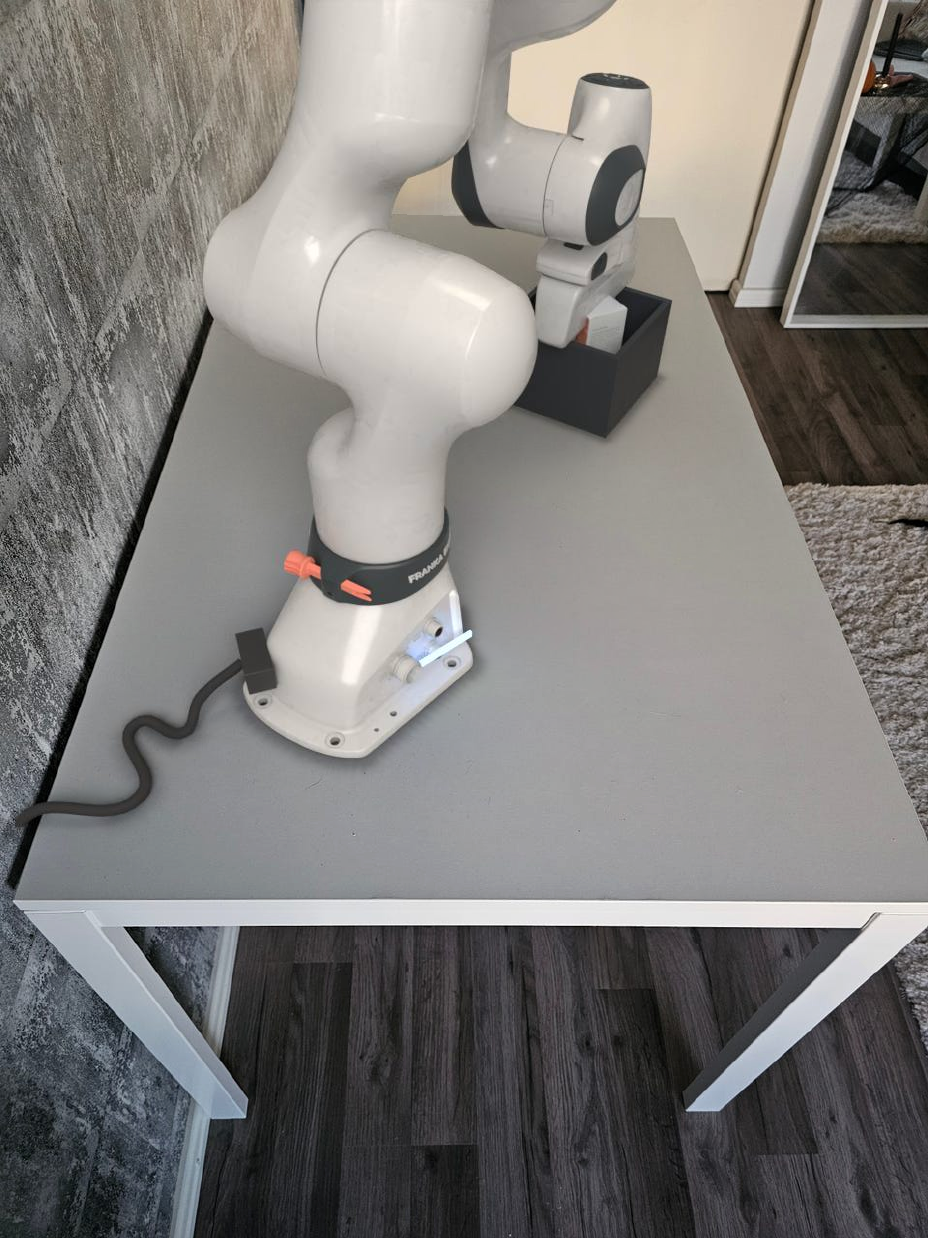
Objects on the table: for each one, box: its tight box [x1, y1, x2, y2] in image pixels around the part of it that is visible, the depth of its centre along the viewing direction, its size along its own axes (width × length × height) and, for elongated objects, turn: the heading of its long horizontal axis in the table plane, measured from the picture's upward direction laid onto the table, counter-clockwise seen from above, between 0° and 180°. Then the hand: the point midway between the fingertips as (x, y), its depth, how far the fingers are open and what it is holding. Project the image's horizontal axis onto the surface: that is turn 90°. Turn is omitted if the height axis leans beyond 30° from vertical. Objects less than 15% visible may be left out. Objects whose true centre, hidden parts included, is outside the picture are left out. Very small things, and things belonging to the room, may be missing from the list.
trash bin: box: [512, 284, 673, 439], centre depth 113 cm, size 16×16×11 cm
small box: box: [574, 295, 627, 354], centre depth 111 cm, size 8×6×10 cm
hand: (582, 344), depth 112 cm, fingers closed on small box, 7 cm apart
